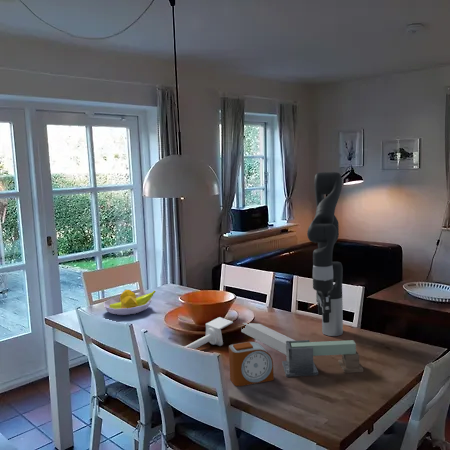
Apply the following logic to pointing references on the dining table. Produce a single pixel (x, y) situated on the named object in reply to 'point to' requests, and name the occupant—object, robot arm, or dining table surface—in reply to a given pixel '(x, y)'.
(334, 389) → the dining table surface
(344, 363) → the post
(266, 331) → the decorative molding
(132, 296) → the fruit bowl
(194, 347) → the white mallet
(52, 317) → the dining table surface
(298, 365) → the cup bracket
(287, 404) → the dining table surface
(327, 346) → the green rail
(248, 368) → the alarm clock
